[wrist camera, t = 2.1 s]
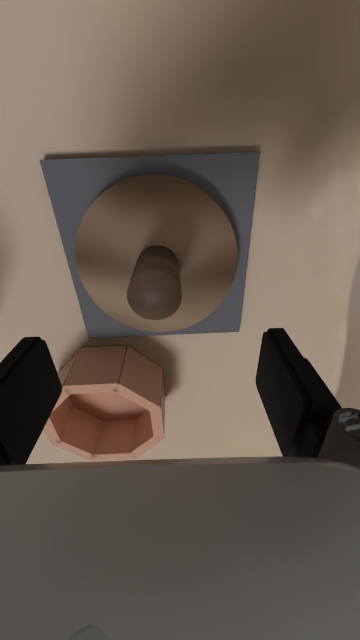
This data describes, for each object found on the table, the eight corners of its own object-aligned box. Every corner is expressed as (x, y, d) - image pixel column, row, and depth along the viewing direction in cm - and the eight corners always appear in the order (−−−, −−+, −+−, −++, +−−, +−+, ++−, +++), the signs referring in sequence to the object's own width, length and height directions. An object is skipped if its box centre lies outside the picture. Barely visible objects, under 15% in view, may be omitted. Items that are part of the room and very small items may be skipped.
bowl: (47, 349, 25) (22, 387, 20) (160, 344, 25) (158, 381, 21) (75, 420, 31) (60, 461, 26) (166, 416, 31) (166, 456, 26)
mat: (43, 159, 17) (39, 159, 16) (256, 152, 17) (259, 151, 16) (90, 334, 24) (88, 338, 23) (237, 328, 24) (239, 331, 24)
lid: (59, 177, 17) (10, 185, 11) (241, 170, 17) (273, 174, 12) (97, 329, 23) (77, 376, 18) (229, 322, 23) (246, 368, 18)
